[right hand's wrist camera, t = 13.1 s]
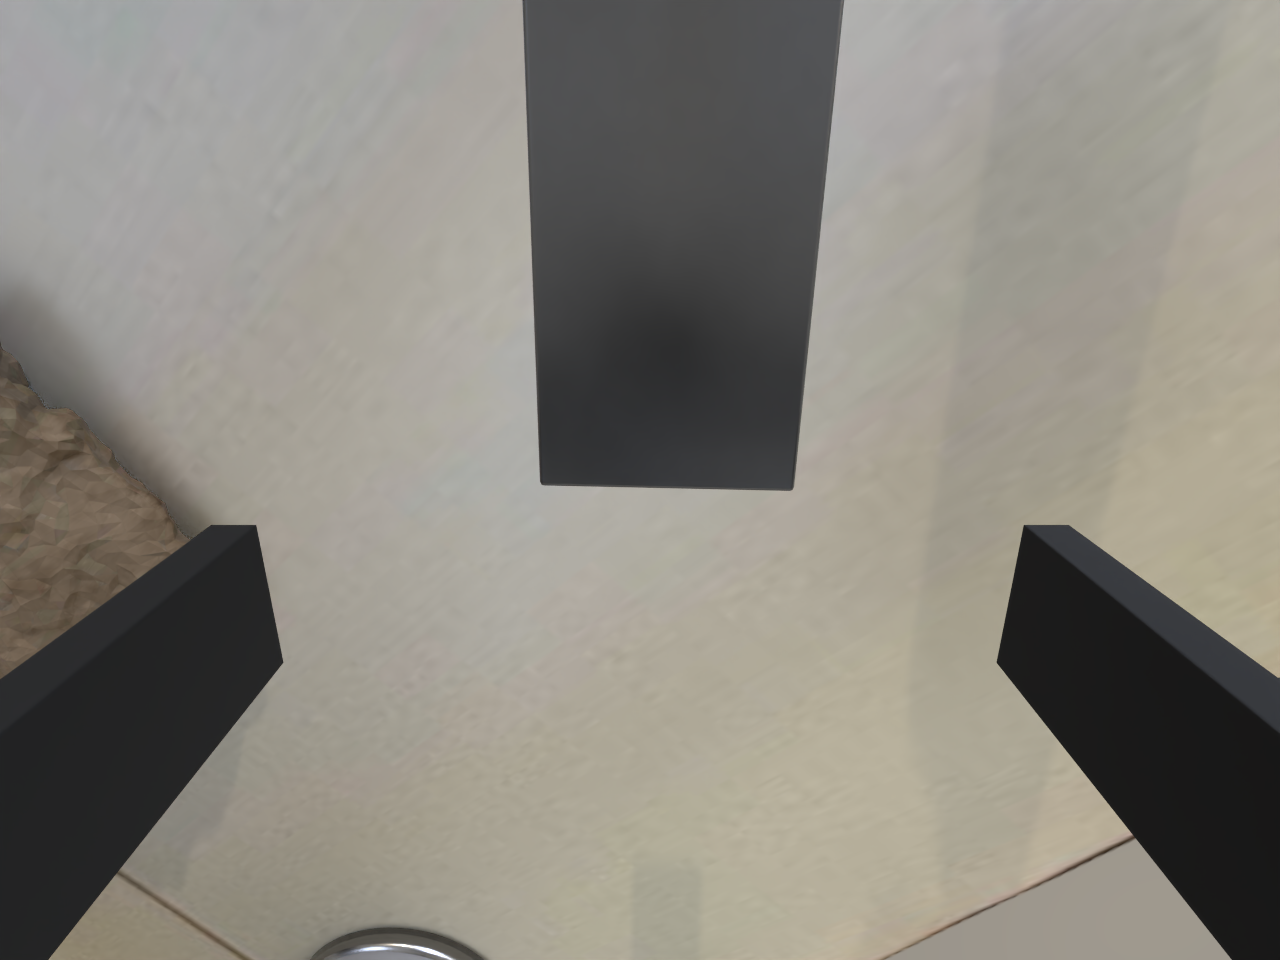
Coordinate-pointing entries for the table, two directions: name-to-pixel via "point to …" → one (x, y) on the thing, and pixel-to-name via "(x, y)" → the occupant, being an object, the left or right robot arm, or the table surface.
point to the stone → (64, 521)
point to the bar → (675, 234)
